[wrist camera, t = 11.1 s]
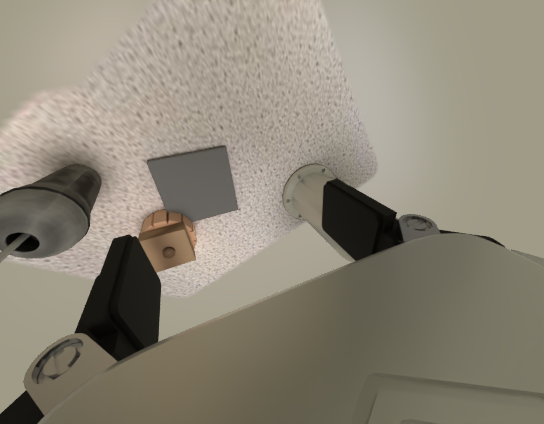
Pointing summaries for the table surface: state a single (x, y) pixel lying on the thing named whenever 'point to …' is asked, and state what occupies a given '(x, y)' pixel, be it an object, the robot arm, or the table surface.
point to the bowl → (169, 223)
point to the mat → (195, 183)
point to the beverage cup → (48, 213)
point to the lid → (167, 246)
